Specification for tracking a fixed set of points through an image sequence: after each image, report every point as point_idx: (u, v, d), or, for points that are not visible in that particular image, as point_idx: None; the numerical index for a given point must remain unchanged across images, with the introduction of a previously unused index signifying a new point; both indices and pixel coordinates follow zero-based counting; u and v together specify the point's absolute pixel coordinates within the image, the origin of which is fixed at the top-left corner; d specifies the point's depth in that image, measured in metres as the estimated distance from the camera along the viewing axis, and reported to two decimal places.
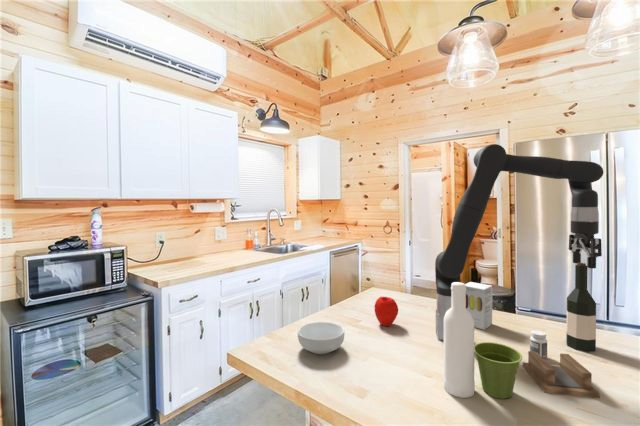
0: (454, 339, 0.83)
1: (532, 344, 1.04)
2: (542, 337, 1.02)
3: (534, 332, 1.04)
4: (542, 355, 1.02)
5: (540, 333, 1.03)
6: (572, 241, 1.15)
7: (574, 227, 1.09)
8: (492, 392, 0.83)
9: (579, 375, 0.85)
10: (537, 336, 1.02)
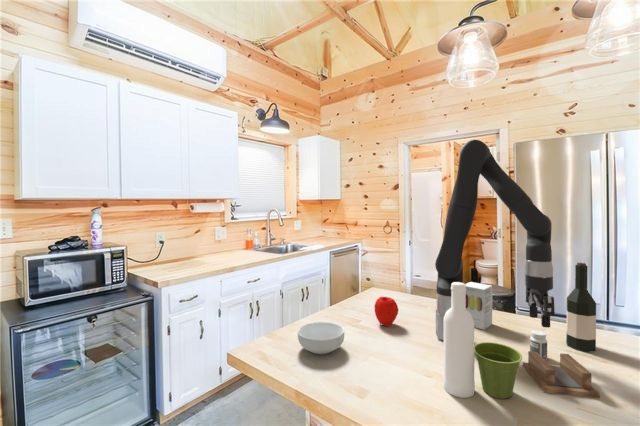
0: (454, 339, 0.83)
1: (532, 344, 1.04)
2: (542, 337, 1.02)
3: (534, 332, 1.04)
4: (542, 355, 1.02)
5: (540, 333, 1.03)
6: (529, 293, 1.09)
7: (528, 281, 1.03)
8: (492, 392, 0.83)
9: (579, 375, 0.85)
10: (537, 336, 1.02)
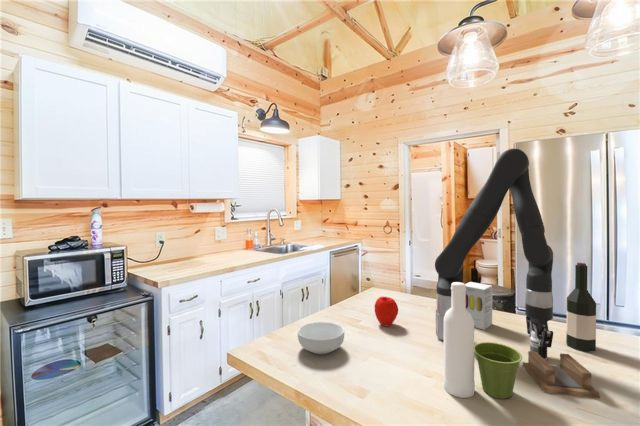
0: (454, 339, 0.83)
1: (532, 344, 1.04)
2: None
3: (534, 332, 1.04)
4: None
5: None
6: (529, 324, 1.09)
7: (528, 310, 1.03)
8: (492, 392, 0.83)
9: (579, 375, 0.85)
10: None
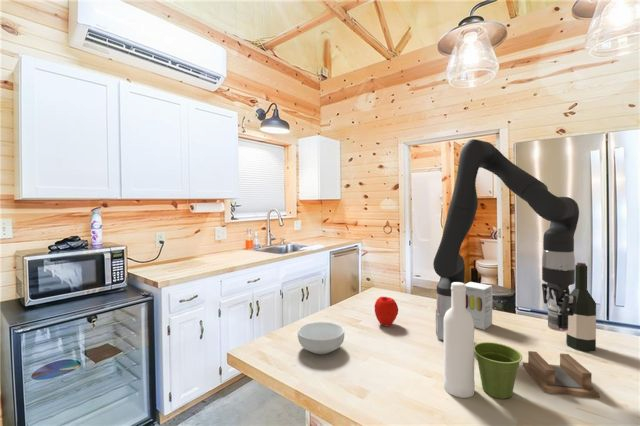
0: (454, 339, 0.83)
1: (550, 314, 0.90)
2: None
3: (553, 300, 0.90)
4: None
5: None
6: (546, 292, 0.95)
7: (545, 274, 0.89)
8: (492, 392, 0.83)
9: (579, 375, 0.85)
10: None
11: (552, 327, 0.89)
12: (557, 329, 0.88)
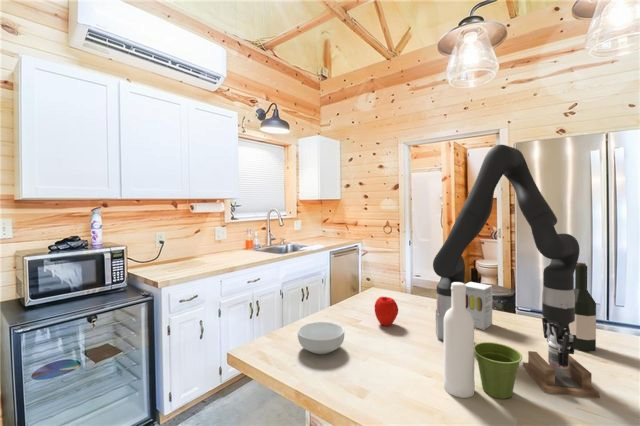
0: (454, 339, 0.83)
1: (551, 350, 0.90)
2: None
3: (553, 336, 0.90)
4: None
5: None
6: (546, 326, 0.95)
7: (545, 311, 0.90)
8: (492, 392, 0.83)
9: (579, 375, 0.85)
10: None
11: (552, 364, 0.90)
12: (557, 366, 0.89)
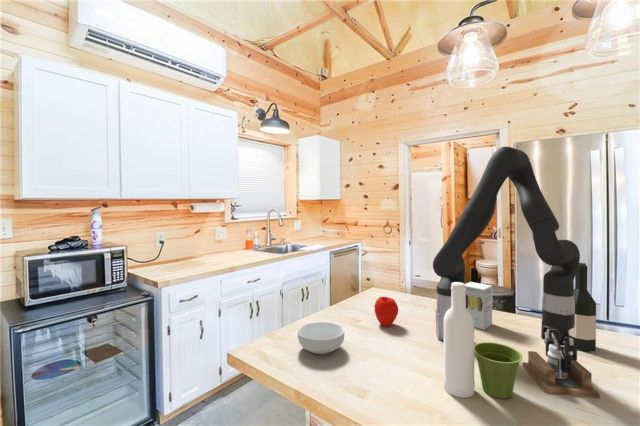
0: (454, 339, 0.83)
1: (550, 360, 0.90)
2: None
3: (552, 346, 0.91)
4: (562, 373, 0.88)
5: None
6: (545, 329, 0.96)
7: (545, 317, 0.90)
8: (492, 392, 0.83)
9: (579, 375, 0.85)
10: (556, 351, 0.89)
11: None
12: (556, 376, 0.89)
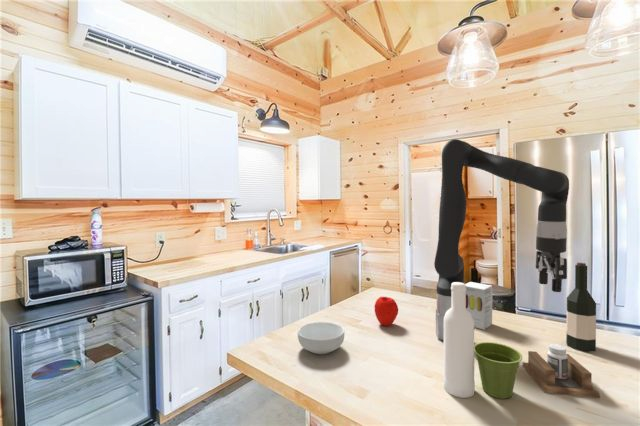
0: (454, 339, 0.83)
1: (550, 360, 0.90)
2: (561, 353, 0.88)
3: (552, 346, 0.91)
4: (562, 373, 0.88)
5: (559, 347, 0.90)
6: (539, 259, 1.02)
7: (539, 243, 0.96)
8: (492, 392, 0.83)
9: (579, 375, 0.85)
10: (556, 351, 0.89)
11: None
12: (556, 376, 0.89)
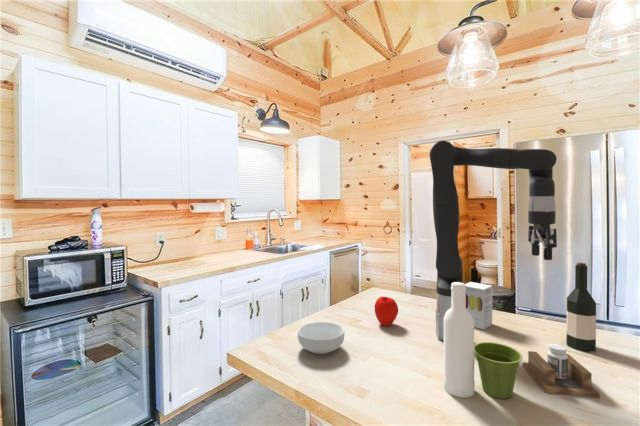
0: (454, 339, 0.83)
1: (550, 360, 0.90)
2: (562, 353, 0.88)
3: (552, 346, 0.91)
4: (562, 373, 0.88)
5: (559, 347, 0.90)
6: (531, 232, 1.11)
7: (531, 217, 1.05)
8: (492, 392, 0.83)
9: (579, 375, 0.85)
10: (556, 351, 0.89)
11: None
12: (556, 376, 0.89)
